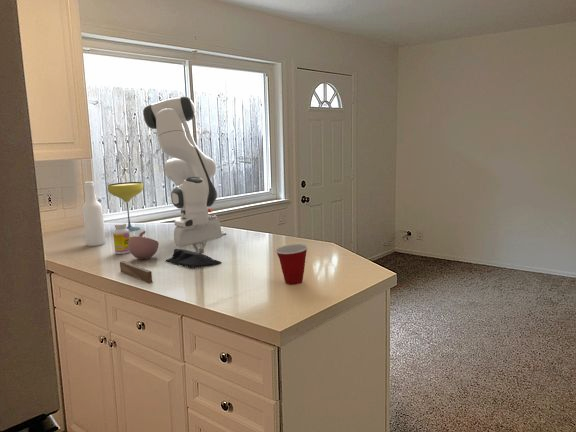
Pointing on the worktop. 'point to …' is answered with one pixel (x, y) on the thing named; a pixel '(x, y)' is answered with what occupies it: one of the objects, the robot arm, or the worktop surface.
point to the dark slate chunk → (191, 259)
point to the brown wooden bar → (136, 272)
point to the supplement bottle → (121, 238)
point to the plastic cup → (292, 262)
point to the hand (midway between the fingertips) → (200, 253)
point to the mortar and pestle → (142, 246)
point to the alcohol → (93, 218)
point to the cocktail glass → (126, 194)
